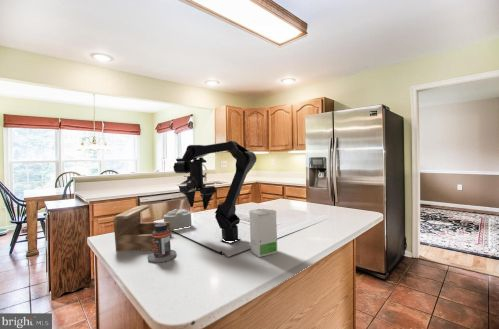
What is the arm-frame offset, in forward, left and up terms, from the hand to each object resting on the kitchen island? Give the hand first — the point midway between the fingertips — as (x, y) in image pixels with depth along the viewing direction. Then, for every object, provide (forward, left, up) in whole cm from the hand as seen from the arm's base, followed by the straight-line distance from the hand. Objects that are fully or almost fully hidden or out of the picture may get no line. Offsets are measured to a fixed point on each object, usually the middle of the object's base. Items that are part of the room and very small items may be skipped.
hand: (198, 208), depth 112 cm
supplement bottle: (-5, +22, -12) cm, 26 cm away
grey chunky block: (+21, -3, -13) cm, 25 cm away
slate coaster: (-5, +22, -13) cm, 26 cm away
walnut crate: (+15, +17, -13) cm, 26 cm away
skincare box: (-34, -2, -13) cm, 37 cm away
